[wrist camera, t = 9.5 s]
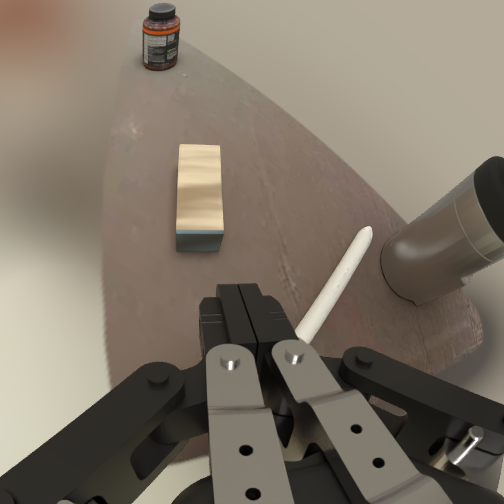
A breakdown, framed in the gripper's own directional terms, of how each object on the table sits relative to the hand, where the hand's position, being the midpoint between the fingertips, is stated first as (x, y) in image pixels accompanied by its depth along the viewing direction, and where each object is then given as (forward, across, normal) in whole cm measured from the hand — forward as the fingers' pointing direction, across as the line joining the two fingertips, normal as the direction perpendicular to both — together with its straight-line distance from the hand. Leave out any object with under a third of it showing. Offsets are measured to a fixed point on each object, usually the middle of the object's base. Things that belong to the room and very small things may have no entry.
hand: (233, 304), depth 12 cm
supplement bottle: (+46, +7, -18) cm, 49 cm away
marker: (+19, -16, +10) cm, 26 cm away
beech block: (+20, 0, +5) cm, 20 cm away
